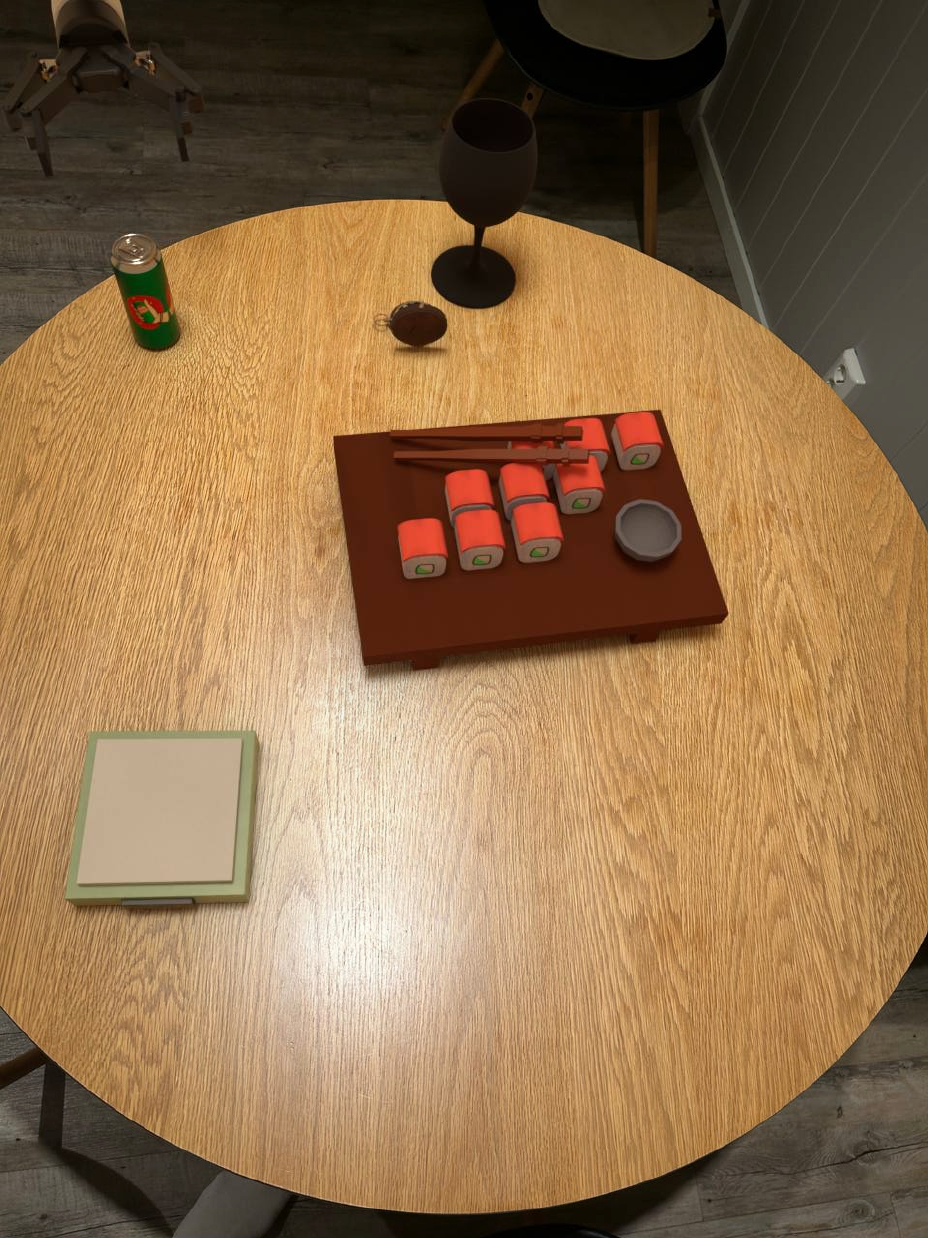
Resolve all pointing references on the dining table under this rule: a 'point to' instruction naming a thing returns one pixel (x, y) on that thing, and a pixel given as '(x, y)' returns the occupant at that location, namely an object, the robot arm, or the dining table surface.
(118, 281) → the soda can
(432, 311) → the compass
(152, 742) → the scale
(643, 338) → the dining table surface
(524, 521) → the sushi
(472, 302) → the wine glass
